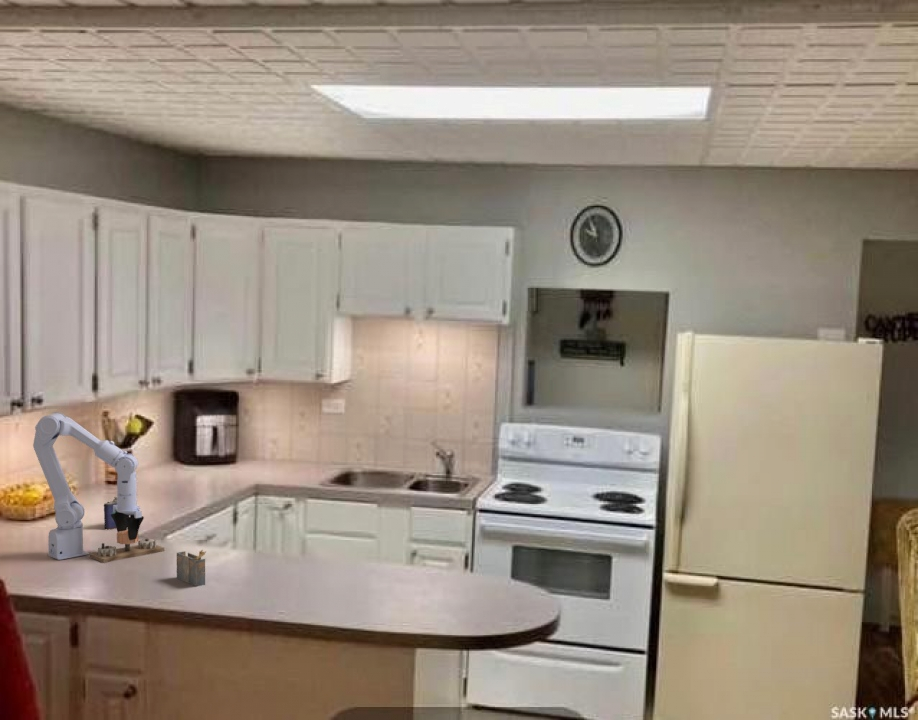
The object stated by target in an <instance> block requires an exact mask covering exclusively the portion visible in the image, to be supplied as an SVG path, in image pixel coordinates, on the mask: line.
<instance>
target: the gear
mask: <svg viewBox="0 0 918 720" xmlns="http://www.w3.org/2000/svg"><path fill="white" fill-rule="evenodd" d="M138 541H139V533H138V534H137V538H136V539H133V540H129V537H128V529H127V530H125V531H119V533H118V532H116V544H120V545H125V544H130V545H131V544H136V543H137V544H138Z"/></svg>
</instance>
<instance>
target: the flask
mask: <svg viewBox="0 0 918 720" xmlns="http://www.w3.org/2000/svg"><path fill="white" fill-rule="evenodd" d="M113 498H114V499H113V500H110V501H107V502H105V503H104V504H103V511H104V514H103V516H104V518H103V519H104V529H107V530H106V531H108V530H109V529H110V530H113V529H114V528H115V529H117V528H116V525H115V522H114V520H113V518H112V517H111V514H114V513H115V512H114V511H113V505H117V496H114V497H113ZM115 529H114V530H115ZM110 530H109V531H110Z"/></svg>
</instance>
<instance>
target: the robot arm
mask: <svg viewBox="0 0 918 720" xmlns="http://www.w3.org/2000/svg"><path fill="white" fill-rule="evenodd" d="M34 428H35V433H34V440H33V443H32V446H33V450H34V453H35V455H36V457H37V459H38V460H37V461H38V463H39V465H40V467H41V470H42V472H43V475H44V477H45V479H46V482H47V485H48V487H49V490H50V492H51V496H52V497H53V500H54V503H53V509H54V512H55V517H54V519H55V523H56V524H57V527H55V528H53V529H50V530H49V532H48V535H47V536H48V537H47V538H48V539H47V540H48V542H47V543H48V553H47V556H49V557H51V558H53V559H55V560H59V561H61V560H65V559H66V560H67V559H71V558H77V557H82V556H88V555H89V552H87V551H85V550H84V532H83V531H84V527H83V526H84V525H83V522H82V520H83V518H84V516H85V508H84V506H83V505H82V504H81V503H80V502H79V501H78V499H77V496H75V495H74V493H72V491H71V489H70V486H69V483H68V481H67V479H66V476H65V473H64V470H63V469H62V466H61V463H60V461H59V458H58V455H57V453H56V451H55V448H54V445H55V442H56V441H57V439H58V437H59V436H61V437H62V436H66V437H67V436H69V437H73V438H74V439H76V440H78V441H80V442H81V443H82V444H85V445H86V446H88V447H90V448H91V449H93V451H94V455H95V456H96V457H97V458H98V459H100V460H101V461H103V462H105V463H106V464H108V465H109V466H110V467H113V468H114V471H115V472H116V473H117V480H116V487H117V489H116V490H117V492H116V493H117V495H116V497H117V505H113V511H114V512H115V513H114V514H111V517H112V518H113V520H114V522H115V525H116V528H115V529H116V531H117V532H116V533H119V531H125V530H128V537H129V540H133V539H136V538H137V534H138V535H139V531H140V530H139V529H140V527H141V524H142V522H143V520H144V519H145V516H143V512H142V510H141V506H139V505H138V500H137V499H138V498H137V496H138V492H137V490H138V489H137V488H138V487H137V486H138V484H137V483H138V482H137V469H138V466H139V461H138V459H137V457H136V456H135V455H134V453H133V454H132V453H128V451H127V450H122V449H121V448H120V447H118V446H117V445H115V442H114V441H113V440H111V441H110V440H107V439H106V440H100V439H99V438H98V437H97V436H95V435H94V434H92V433H91V432H89V431H88V430H87V429H85V428H84V427H83V426H82V425H80V424H79V423H77V422H76V421H75V420H74V419H72V418H71V417H69V416H67V415H65V414H64V413H63V412H53V413H51V414H47V415H44V416H42V417H41V418H39V420H38V422H37V423H36V425H35V427H34Z"/></svg>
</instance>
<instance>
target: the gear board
mask: <svg viewBox="0 0 918 720" xmlns="http://www.w3.org/2000/svg"><path fill="white" fill-rule="evenodd" d="M156 541H157V540H156V539H151V538H145V539H143V538H142V539H141V540H138V541H137V545H135V544H134V545H131V544H124V547H120V548H117V547H116V546H112V545H105V543H103V542H102V543H101V547H98V549H97V552H93V553H89V558H91V559H92V560H96V561H98V562H101V563H107V562H108V563H109V562H114V561H119V560H125V559H129V558H134V557H140V556H145V555H150V553H151V554H155V553H161V552H164V551H165V547H163V546H160V545H158V544H157V542H156ZM160 551H161V552H160Z"/></svg>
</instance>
